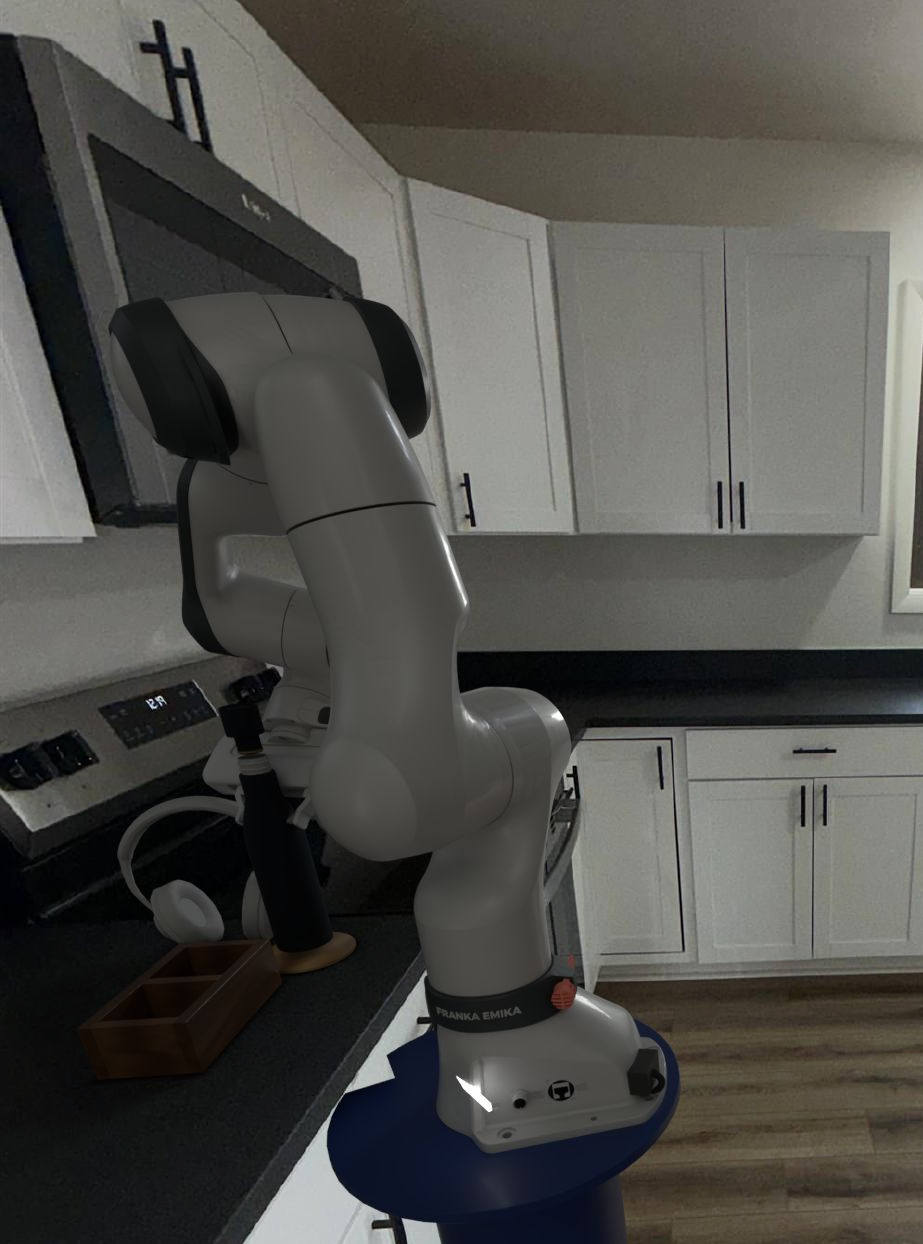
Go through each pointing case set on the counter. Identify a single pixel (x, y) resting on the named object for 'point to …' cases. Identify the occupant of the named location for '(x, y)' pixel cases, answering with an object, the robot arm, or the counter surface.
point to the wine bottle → (276, 841)
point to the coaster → (315, 955)
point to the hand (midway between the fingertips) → (270, 826)
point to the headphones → (182, 903)
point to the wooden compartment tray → (181, 1010)
